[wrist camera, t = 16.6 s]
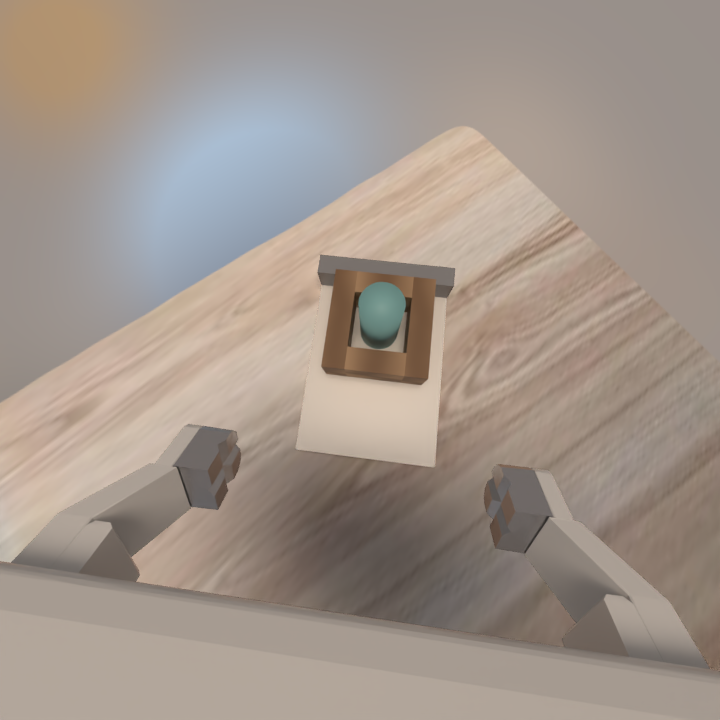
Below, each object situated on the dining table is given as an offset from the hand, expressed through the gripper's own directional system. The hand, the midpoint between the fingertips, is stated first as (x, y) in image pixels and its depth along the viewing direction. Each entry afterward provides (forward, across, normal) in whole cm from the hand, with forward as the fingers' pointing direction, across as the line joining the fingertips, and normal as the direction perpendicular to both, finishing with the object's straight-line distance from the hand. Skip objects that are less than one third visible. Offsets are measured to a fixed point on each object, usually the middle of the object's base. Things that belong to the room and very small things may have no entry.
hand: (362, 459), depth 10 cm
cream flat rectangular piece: (+23, 0, +11) cm, 26 cm away
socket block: (+24, 0, +8) cm, 26 cm away
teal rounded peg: (+25, 0, +8) cm, 26 cm away
